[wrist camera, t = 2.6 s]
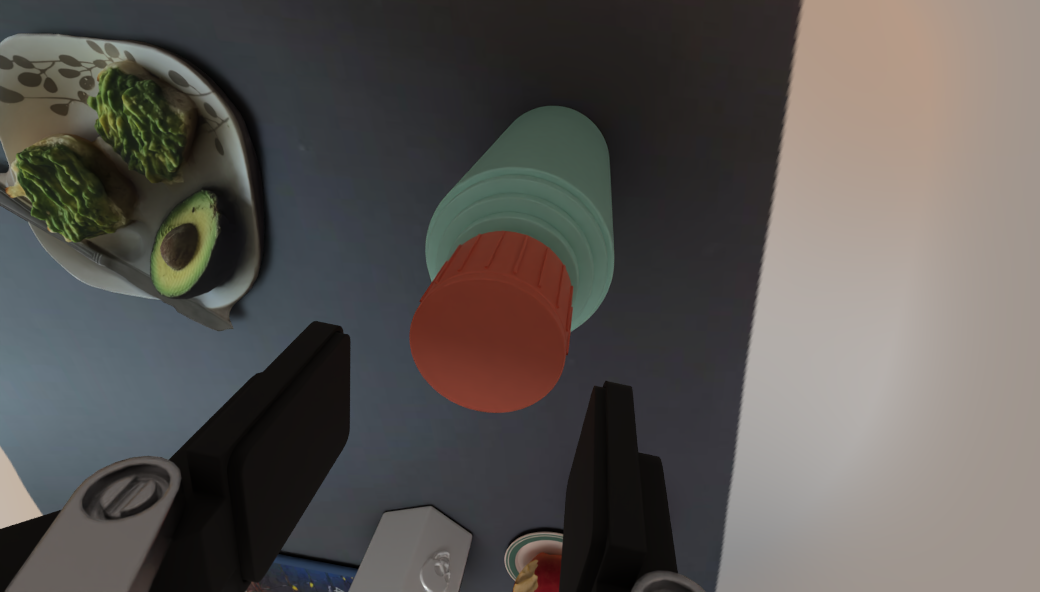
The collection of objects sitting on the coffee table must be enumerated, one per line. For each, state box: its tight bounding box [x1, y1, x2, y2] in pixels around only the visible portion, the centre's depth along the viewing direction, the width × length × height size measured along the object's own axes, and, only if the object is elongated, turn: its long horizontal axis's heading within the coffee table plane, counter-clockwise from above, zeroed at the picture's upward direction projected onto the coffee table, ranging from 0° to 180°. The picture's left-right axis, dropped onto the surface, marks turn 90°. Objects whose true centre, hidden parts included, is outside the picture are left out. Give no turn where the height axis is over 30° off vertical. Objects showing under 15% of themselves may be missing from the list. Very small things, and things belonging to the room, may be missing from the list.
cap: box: [410, 230, 573, 413], centre depth 14 cm, size 4×4×3 cm
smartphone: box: [246, 554, 358, 592], centre depth 51 cm, size 8×1×15 cm
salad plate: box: [0, 34, 265, 331], centre depth 32 cm, size 19×18×5 cm
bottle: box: [426, 106, 614, 332], centre depth 22 cm, size 6×6×19 cm
